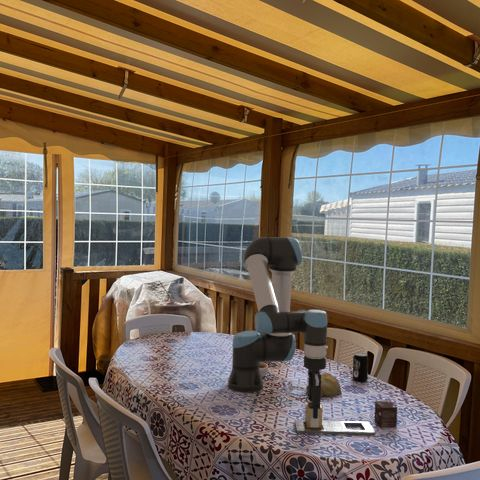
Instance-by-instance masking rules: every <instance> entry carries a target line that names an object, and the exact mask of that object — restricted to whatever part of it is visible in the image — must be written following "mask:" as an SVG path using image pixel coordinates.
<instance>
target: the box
mask: <svg viewBox="0 0 480 480" xmlns="http://www.w3.org/2000/svg"><path fill="white" fill-rule="evenodd" d="M373 419H374V420H373V421H374V423H375V424H376V425H377V426H378V428H380V429H388V428H389V429H390V428H392V429H396V428H397V425H398V424H397V422H398V407H397V405H396V404H395V403H393V402H392V401H390V400H388V401H386V400H384V401H383V400H382V401H381V400H379V401H374V418H373Z"/></svg>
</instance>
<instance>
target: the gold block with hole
mask: <svg viewBox="0 0 480 480" xmlns="http://www.w3.org/2000/svg"><path fill="white" fill-rule="evenodd" d="M311 406H312V402H309V401H306V402H305V408H304V409H305V413H304V420H305V425H304V427H305V426H306V427H305V429H318V430H323V428H322V421H323V406H322V404H321V403H320V406H321V408H320V409H319V427H310V420H311V409H310V408H309V407H311Z"/></svg>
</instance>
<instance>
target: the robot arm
mask: <svg viewBox="0 0 480 480" xmlns="http://www.w3.org/2000/svg"><path fill="white" fill-rule="evenodd" d="M302 251H303V250H302V246H301V244H300V242H299V240H298V239H297V238H295V237H288V236H283V237H282V236H281V237H280V236H278V237H277V236H275V237H274V236H271V237H270V236H269V237H267V236H261V237H257V238H256V239H253V240H252V241H251V242H250V243H249V244H248V246H247V247H246V248H245V251H244V253H243V264H244V269H245V270H246V271H247V272H248V273H249V274H248V276H249V279H250V283H251V286H252V291H253V295H254V300H255V303H256V306H257V307H256V308H257V311H258V312H256V313H255V315H254V328H255V330H244V331H240V332H238V333H236V334H234V335H233V339H232V365H231V366H232V367H231V371H230V374H229V377H228V380H227V388H228V389H229V390H231V391H235V392H240V393H254V392H259V391H261V390H263V388H264V380H263V377H262V374H261V370H260V365H261V363H282V362H288V361H289V362H290V361H291V360H292V359H293V358H294V356H295V353H296V349H297V342H296V341H297V340H296V336H295V334H301V333H302V334H303V335H304V339H303V340H304V341H303V354H304V356H303V367H304V368H305V369H307V376H308V380H307V382H308V383H307V385H308V392H307V399H308V402H312V406H311V407H309V408H310V409H311V420H310V427H319V409H320V408H321V406H322V405H321V406H320V404H321V398H322V396H321V374H322V373H321V372H320V371H322V370H325V369H326V368H327V357H326V356H327V350H328V349H329V347H328V346H327V341H328V340H327V337H328V324H329V323H328V314H327V312H326V311H325V310H321V309H308V310H306V309H298V310H296V311H291V299H292V298H291V295H292V283H293V281H292V280H293V274H294V273H296V271H297V266H300V265H301V264H302V261H303V252H302ZM269 271H270V272H271V276H270V273H269Z"/></svg>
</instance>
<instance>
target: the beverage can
mask: <svg viewBox="0 0 480 480" xmlns="http://www.w3.org/2000/svg"><path fill="white" fill-rule="evenodd" d="M368 376H369V357H368V353H366V352H359V351H358V352H354V355H353V357H352V379H353V380H354V381H355V382H357V381H358V383H365V382H367V381H368V378H369V377H368Z"/></svg>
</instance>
